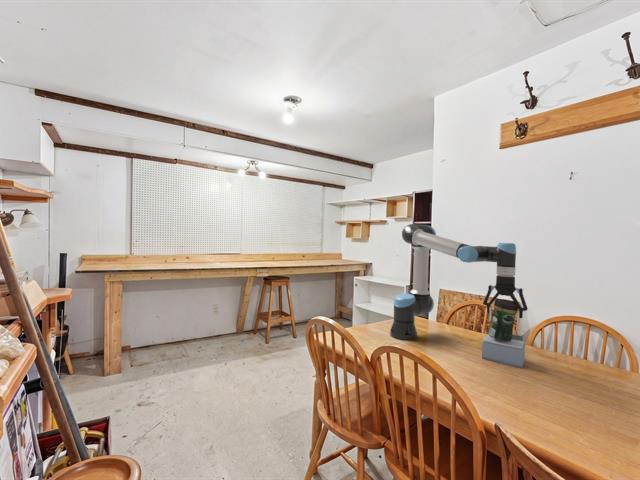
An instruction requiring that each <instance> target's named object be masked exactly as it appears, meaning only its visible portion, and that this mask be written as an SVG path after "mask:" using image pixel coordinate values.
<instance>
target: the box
mask: <svg viewBox="0 0 640 480" xmlns="http://www.w3.org/2000/svg"><path fill="white" fill-rule="evenodd" d="M481 348H482V349H481V352H482V353H481V359H482V360H485V361H490V362H493V363H498V364H503V365H507V366H511V367H515V368H518V369H519V368H520V369H523V367H524V363H525V359H526V343H524V346H523V349H518V348H513V347H508V346H503V345H498V344H494V343H489V342H484V341H483V340H482V347H481Z"/></svg>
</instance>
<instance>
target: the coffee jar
mask: <svg viewBox="0 0 640 480" xmlns="http://www.w3.org/2000/svg"><path fill="white" fill-rule="evenodd" d="M518 310H519V309H518V307H517V306H516V304H515V303H514V301H513V300H509V299H502V298H496V299H495V301H494V302H493V313H492V320H491V321H490V324H489V326H488V331H487V334H489V336H491V337H493V338H495V339H498V340H503V341H511V340H512V334H514V333H513V331H514V322H515V317H516V315H517V311H518Z"/></svg>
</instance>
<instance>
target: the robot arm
mask: <svg viewBox="0 0 640 480" xmlns="http://www.w3.org/2000/svg"><path fill="white" fill-rule="evenodd" d="M401 238H402V239H403V241H404V242H405V243H407V244H408V245H411V248H412V249H413V269H412V270H413V271H412V289H411V290H410V291H409V293H401V294H397V295H396V296H394V299H393V300H394V301H393V322H392V325H391V327H390V332H389V335H390V336H391V337H392V338H393V339H394V338H395V339H398V340H402V341H403V340H405V341H412V340H416V339H418V331H417V328H416V324H415V317H417V316H424V315H427V314H430V313H431V312H432V311H433V309H434V305H435V303H434V301H435V300H434V299H433V297H432V296H431V292H430V291H429V264H430V262H429V260H430V259H429V257H430V250H433V251H436V252H438V253H442V254H445V255H448V256H452V257H454V258H457V259H459V261H461V262H463V263H477V262H479V263H480V262H481V263H482V262H488V263H489V262H490V263H496V277H495V278H496V279H495V281H496V282H495V285H491V284H490V285H488V287H487V288H488V289H487V293H486V295H485V297H484V300H483V301H482V304H483V305H484V306H486V312H487V314H489V317H488V320H489V322H491V321H492V318H493V305H492V304H494V303H495V300H496V299H498V297H499V296H506V297H510V298H511V299H512V300H511V301H513V302H514V303H515V304H516V306H517V307H518V311H517V313H516V315H517V316H516V326H520V321H521V320H520V319H523V313H524V312H526V311H528V306H527V305H528V304H527V303H526V302H527V301H526V300H525V296H524V294H523V292H524V289H523V288H518V287H516V285H515V283H516V277H515V276H516V263H517V262H516V260H517V245H516V244H515V243H513V242H498V243H497V246H485V245H474V246H473V245H469V244H466V243H462V242H460V241H456V240H453V239H449V238H445V237H443V236H439V235H437V232H436V231H435V229H434V228H433V226H431V225H428V224H418V223H417V224H416V223H415V224H414V223H410V224H408V225H406V226H404V228H403V229H402V231H401ZM494 289H495V290H496V293H495V294H494V296H493V297H492V298H491V299H490V296H491V295H492V292H493V290H494ZM515 292H516V293H517V294H518V296H519V298H520V301H521V304H522V305H521V304H520V302H519V301H518V299H517V297H516V296H515V294H514V293H515ZM489 299H490V301H489ZM488 301H489V302H488Z"/></svg>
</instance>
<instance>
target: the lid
mask: <svg viewBox="0 0 640 480" xmlns="http://www.w3.org/2000/svg"><path fill="white" fill-rule="evenodd" d="M523 338H524V336H523V335H518V334H514V333H512V340H511V341H503V340H498V339H495V338H493V337H491V336H489V334H488V333H487V334H486V335H485V336H484V338H483V340H482V342H483V341H484V342H489V343H494V344H498V345H503V346H508V347H513V348H518V349H523V346H524V343H525V340H524V339H523ZM525 344H526V343H525Z"/></svg>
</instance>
